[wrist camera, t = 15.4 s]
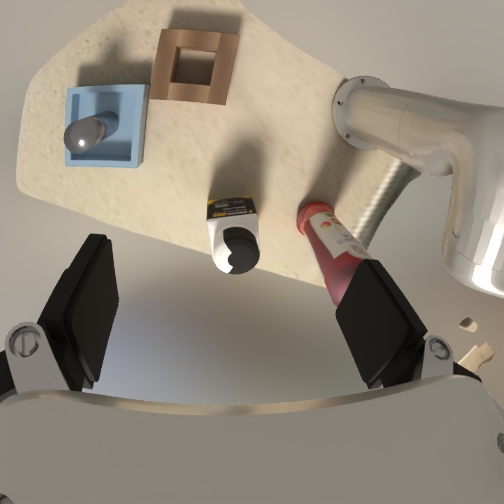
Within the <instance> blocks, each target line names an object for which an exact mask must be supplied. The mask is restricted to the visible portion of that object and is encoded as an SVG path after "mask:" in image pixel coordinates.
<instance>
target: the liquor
mask: <svg viewBox="0 0 504 504" xmlns="http://www.w3.org/2000/svg"><path fill="white" fill-rule="evenodd" d="M296 223H297V228H298V230H299V231H300V233H302V234H303V235H304V236H305V238H306V240H307V242H308V244H309V246H310V249H311V251H312V253H313V255H314V257H315V260H316V262H317V265H318V268H319V270H320V273H321V275H322V278H323V280H324V282H325V284H326V287H327V289H328V291H329V294H330V296H331V299H332V301H333V303H334V305H336V306H337V307H338V305H339V303H340V302H341V300H342V298H343V296H344V294H345V292H346V290H347V288H348V285H349V283H350V281H351V279H352V277H353V275H354V273H355V271H356V269H357V267H358V265H359V263H360V262H362V261H363V260H364V259H373V258H372V257H371V256H370V255H369V253H368V252H367V251H366V250H365V249H364V247H363V246H362V245H361V244H360V243H359V242H358V241H357V240H356V239H355V238H354V237H353V235H352V234H351V233H350V232H349V231H348V230H347V229H346V228H345V227H344V226H343V224H342V223H341V222H340V221H339V220H338V219H337V218H336V216H335V215H334V211H333V209H332V208H331V207H330V205H328V204H327V203H324V202H312V203H310V204H308V205H306V206H305V207H304V208H302V210H301V211H300V212H299V214H298V216H297V222H296Z"/></svg>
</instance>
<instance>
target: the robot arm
mask: <svg viewBox="0 0 504 504" xmlns="http://www.w3.org/2000/svg"><path fill="white" fill-rule="evenodd" d="M360 80H361V82H360ZM338 101H339V104H338ZM332 116H333V121H334V125H335V127H336V129H337V131H338V133H339V134H340V136H341V137H342V138H343V139H344V140H345V141H346V142H347V143H349V144H350V145H352V146H354V147H356V148H358V149H361V150H376V149H380V150H382V151H384V152H386V153H388V154H390V155H392V156H393V157H395V158H397V159H399V160H401V161H402V162H404V163H406V164H408V165H409V166H411V167H413V168H415V169H416V170H418V171H420V172H421V173H424V174H426V175H429V176H435V177H443V176H448V175H451V174H453V181H452V189H451V190H452V193H451V199H450V205H449V210H448V215H447V220H446V225H445V231H444V235H443V240H442V258H443V262H444V264H445V266H446V268H447V269H448V271H449V272H450V273H451V274H452V275H453V276H454V277H455V278H456V279H457V280H458V281H460V282H461V283H463V284H464V285H466V286H468V287H470V288H473V289H475V290H477V291H480V292H483V293H486V294H490V295H493V296H497V297H500V298H504V108H503V107H497V106H490V105H483V104H473V103H467V102H460V101H456V100H451V99H446V98H441V97H437V96H432V95H427V94H422V93H417V92H412V91H406V90H400V89H394V88H390V87H389V86H388V85H387V84H386V83H385V82H383V81H381V80H380V79H378V78H375V77H370V76H358V77H354V78H352V79H350V80H348V81H346V82H345V83H344V84H343V85H342V86H341V87H340V88H339V89H338V91H337V93H336V95H335V97H334V101H333V106H332ZM346 134H347V136H346ZM118 302H119V297H118V291H117V284H116V276H115V269H114V261H113V251H112V243H111V240H110V239H107V237H106V235H103V234H90V235H89V236H88V237H87V239H86V241H85V242H84V244H83V245H82V247H81V248H80V250H79V252H78V253H77V255H76V256H75V258H74V260H73V262H72V263H71V265H70V267H69V268H68V269H66V270H65V271H64V272H63V274H62V276H61V278H60V279H59V281H58V283H57V285H56V286H55V288H54V290H53V292H52V294H51V296H50V297H49V300H48V302H47V303H46V305H45V307H44V309H43V311H42V313H41V315H40V317H39V319H38V322H37V324H36V323H33V322H23V323H20V324H18V325H16V326H15V327H13V328H12V329H11V331H9V333H8V335H7V337H6V340H5V350H4V351H2V352H0V504H504V410H503V409H502V408H501V406H500V405H499V404H498V403H497V402H495V401H494V399H493V398H492V397H491V396H490V394H489V393H488V391H487V390H486V388H485V387H484V386H483V384H482V381H481V379H480V378H479V377H478V376H477V375H475V374H474V373H472V372H470V371H469V370H467V369H465V368H464V367H462V366H460V365H459V364H457V363H455V362H454V361H453V352H452V349H451V347H450V346H449V344H448V343H447V342H446V341H445V340H444V339H442V338H441V337H438V336H436V335H430V336H428V337H427V338H426V340H424V338H423V336H424V335H425V334H426V333H427V331H428V330H427V329H426V327H425V326H424V324H423V323H422V321H421V320H420V318H419V316H418V315H417V313H416V312H415V311H414V309H413V307H412V306H411V305H410V303H409V302H408V300H407V299H406V297H405V296H404V294H403V293H402V292H401V290H400V289H399V287H398V286H397V285H396V283H395V282H394V280H393V279H392V278H391V276H390V275H389V274H388V272H387V271H386V270H385V268H384V267H383V266H382V264H381V263H380V262H379V261H378V260H374V259H364V260H363V261H362V262H360V263H359V265H358V267H357V269H356V271H355V273H354V275H353V277H352V279H351V281H350V283H349V285H348V288H347V290H346V292H345V294H344V296H343V298H342V300H341V302H340V303H339V305H338V307H337V309H336V319H337V321H338V324H339V326H340V328H341V330H342V333H343V335H344V337H345V339H346V342H347V344H348V346H349V348H350V351H351V353H352V356H353V358H354V360H355V363H356V365H357V368H358V370H359V372H360V375H361V377H362V380H363V381H364V382H365V383H366V384H367V386H368V389H374V388H378V387H380V386H381V385H382V384H383V387H384V388H383V389H378V390H373V391H368V392H362V393H357V394H351V395H345V396H339V397H332V398H325V399H317V400H309V401H299V402H288V403H275V404H255V405H196V404H178V403H164V402H153V401H144V400H135V399H126V398H119V397H112V396H106V395H99V394H92V393H85V392H82V388H88V389H92V388H93V384H94V382H98V380H99V377H100V373H101V368H102V364H103V359H104V355H105V351H106V347H107V343H108V339H109V336H110V332H111V329H112V325H113V321H114V318H115V315H116V311H117V308H118Z"/></svg>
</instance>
